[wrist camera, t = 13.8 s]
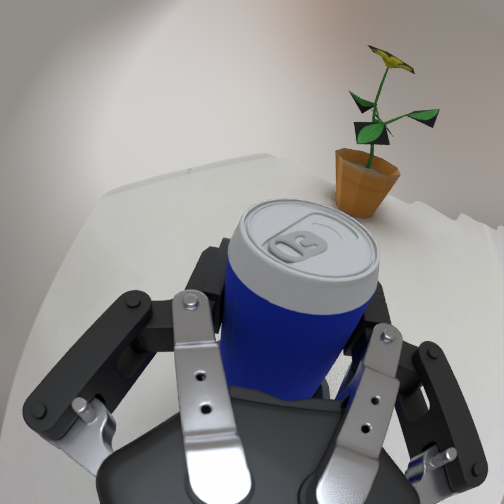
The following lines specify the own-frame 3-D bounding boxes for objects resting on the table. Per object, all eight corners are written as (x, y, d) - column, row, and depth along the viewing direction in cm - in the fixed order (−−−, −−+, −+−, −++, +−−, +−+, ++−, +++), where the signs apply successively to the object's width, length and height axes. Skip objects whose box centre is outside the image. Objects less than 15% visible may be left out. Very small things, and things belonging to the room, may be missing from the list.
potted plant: (375, 248, 43) (433, 61, 25) (290, 196, 53) (320, 36, 35) (410, 221, 53) (454, 84, 35) (340, 182, 64) (369, 57, 46)
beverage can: (255, 373, 21) (301, 185, 12) (304, 418, 18) (409, 247, 9) (200, 409, 18) (196, 216, 9) (250, 463, 15) (330, 321, 6)
